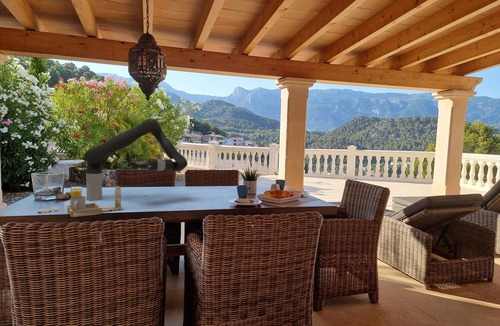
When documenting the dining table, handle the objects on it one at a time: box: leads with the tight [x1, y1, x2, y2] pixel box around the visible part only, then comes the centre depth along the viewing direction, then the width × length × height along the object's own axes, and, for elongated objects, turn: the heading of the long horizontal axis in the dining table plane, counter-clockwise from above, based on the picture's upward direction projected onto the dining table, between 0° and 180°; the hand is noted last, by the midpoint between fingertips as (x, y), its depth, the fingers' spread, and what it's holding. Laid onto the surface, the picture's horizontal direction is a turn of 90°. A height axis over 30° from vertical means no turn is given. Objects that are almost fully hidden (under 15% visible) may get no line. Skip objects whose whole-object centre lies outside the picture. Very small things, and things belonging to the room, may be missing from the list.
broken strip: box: [37, 207, 60, 213], centre depth 189 cm, size 5×26×1 cm, turn 127°
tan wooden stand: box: [66, 186, 124, 218], centre depth 187 cm, size 15×28×13 cm, turn 127°
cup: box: [69, 195, 86, 211], centre depth 181 cm, size 7×10×9 cm
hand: (130, 165), depth 199 cm, fingers open, 8 cm apart
